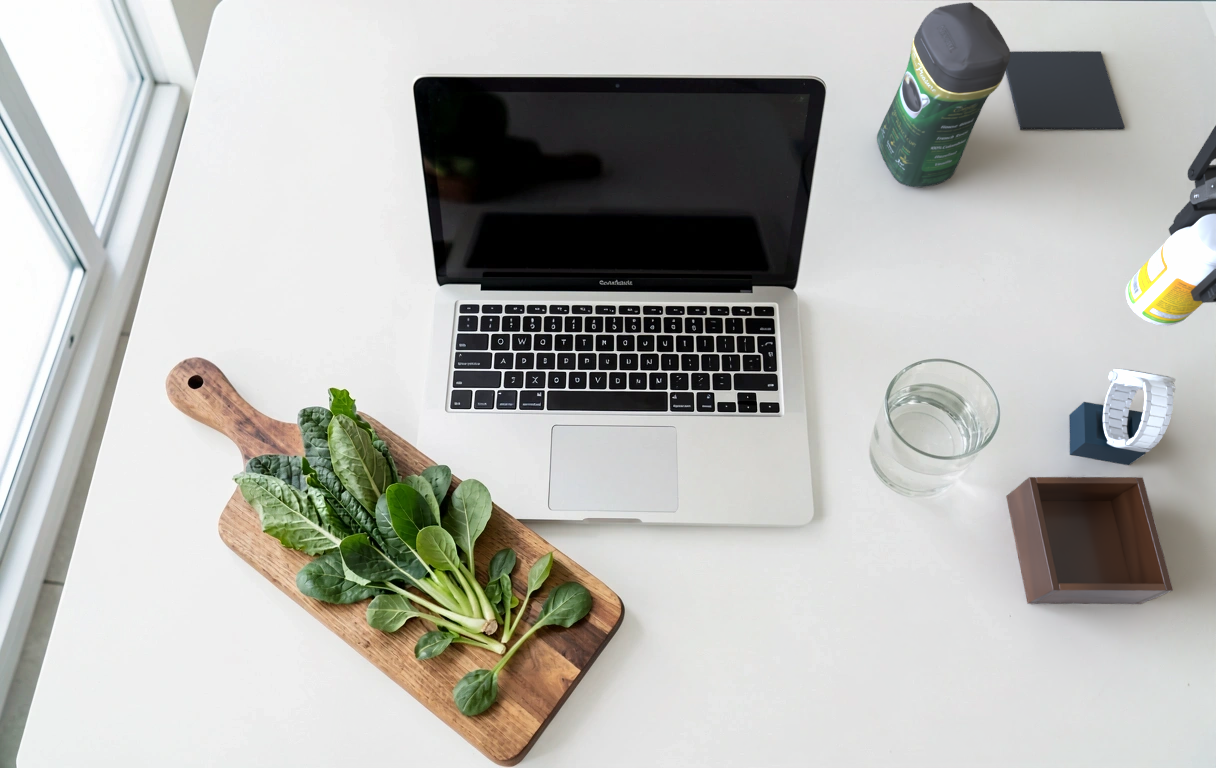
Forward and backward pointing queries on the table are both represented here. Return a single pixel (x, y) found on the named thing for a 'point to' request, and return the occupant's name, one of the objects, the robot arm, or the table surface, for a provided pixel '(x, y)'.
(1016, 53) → the mat
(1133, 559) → the wooden box
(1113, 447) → the watch
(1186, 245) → the supplement bottle
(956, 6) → the coffee jar
